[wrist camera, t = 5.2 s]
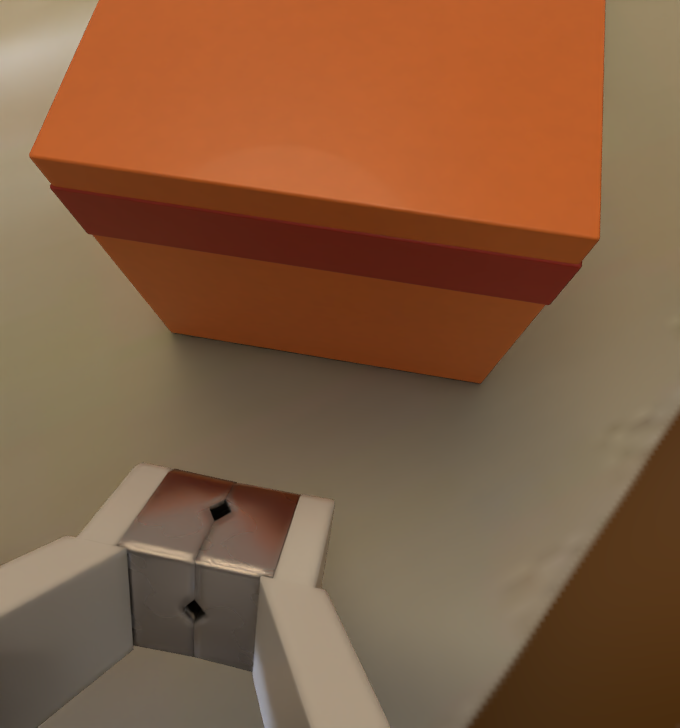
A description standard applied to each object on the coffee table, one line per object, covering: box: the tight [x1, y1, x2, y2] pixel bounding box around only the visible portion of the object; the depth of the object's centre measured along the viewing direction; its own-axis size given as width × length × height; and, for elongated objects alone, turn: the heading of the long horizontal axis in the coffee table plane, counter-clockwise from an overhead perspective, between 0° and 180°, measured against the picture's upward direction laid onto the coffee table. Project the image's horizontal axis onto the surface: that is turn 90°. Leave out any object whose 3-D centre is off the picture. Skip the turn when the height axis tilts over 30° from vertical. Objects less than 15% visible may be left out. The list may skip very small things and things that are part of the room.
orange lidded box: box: [29, 0, 605, 383], centre depth 16 cm, size 11×13×9 cm
